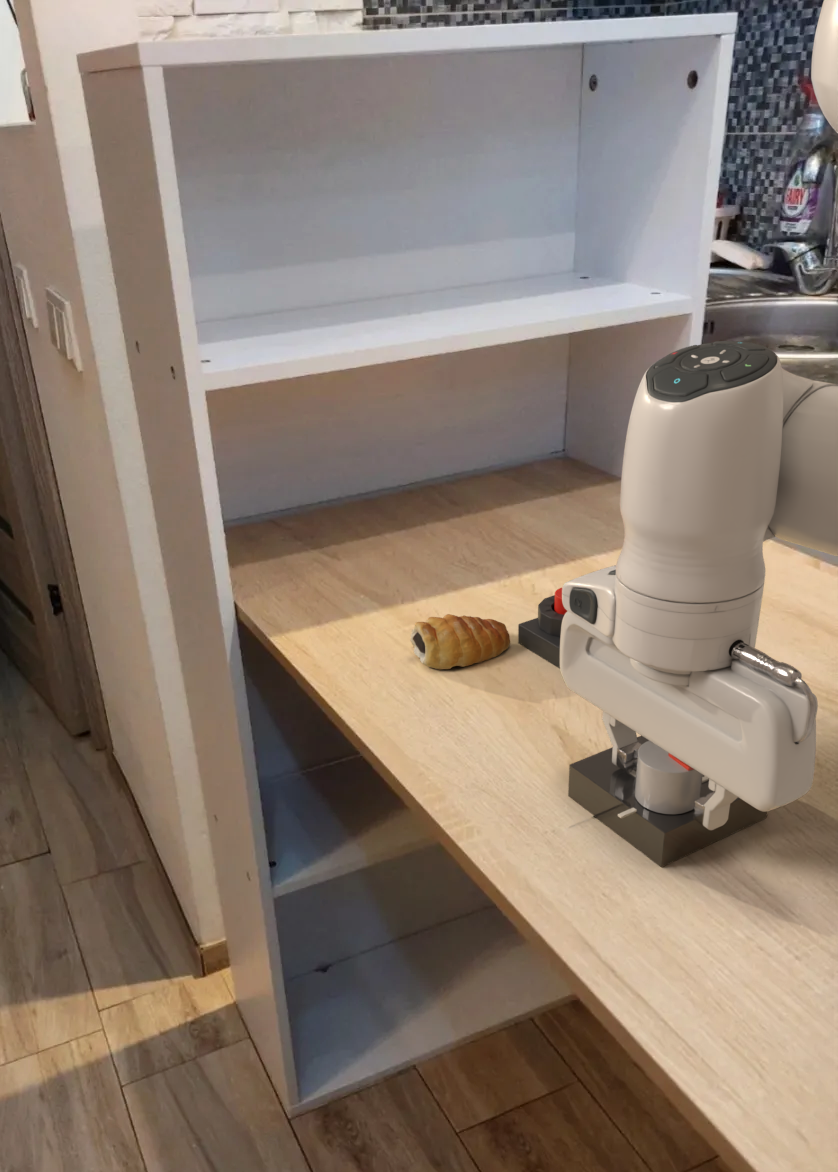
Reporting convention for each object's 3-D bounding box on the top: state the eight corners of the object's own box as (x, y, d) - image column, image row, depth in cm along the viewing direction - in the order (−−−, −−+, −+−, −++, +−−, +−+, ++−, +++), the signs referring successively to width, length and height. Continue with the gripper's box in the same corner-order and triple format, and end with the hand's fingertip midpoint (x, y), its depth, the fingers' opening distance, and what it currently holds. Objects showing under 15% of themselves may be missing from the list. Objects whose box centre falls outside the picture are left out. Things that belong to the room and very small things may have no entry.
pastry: (494, 629, 103) (494, 595, 101) (521, 659, 98) (522, 623, 96) (405, 647, 101) (404, 612, 99) (428, 678, 96) (426, 642, 94)
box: (582, 621, 103) (583, 585, 101) (660, 663, 95) (664, 625, 93) (517, 643, 100) (517, 606, 98) (592, 689, 92) (594, 650, 90)
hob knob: (621, 789, 73) (624, 744, 72) (672, 771, 75) (676, 727, 73) (661, 821, 70) (665, 775, 68) (713, 803, 71) (719, 757, 69)
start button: (574, 599, 99) (574, 583, 98) (595, 611, 97) (596, 594, 96) (547, 608, 98) (547, 591, 97) (568, 620, 96) (569, 603, 95)
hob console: (667, 755, 82) (670, 721, 80) (781, 827, 73) (787, 791, 72) (554, 802, 78) (555, 768, 76) (660, 885, 69) (664, 848, 67)
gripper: (859, 665, 58) (821, 856, 65) (616, 555, 74) (606, 718, 81) (778, 698, 56) (747, 892, 63) (546, 577, 72) (542, 743, 79)
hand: (666, 793), depth 72 cm, fingers open, 7 cm apart
